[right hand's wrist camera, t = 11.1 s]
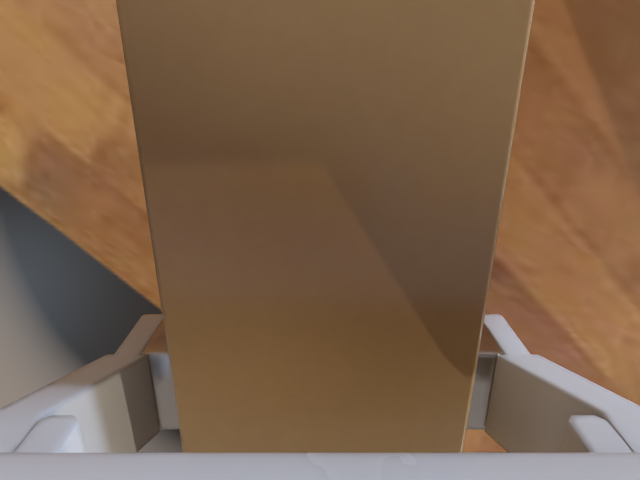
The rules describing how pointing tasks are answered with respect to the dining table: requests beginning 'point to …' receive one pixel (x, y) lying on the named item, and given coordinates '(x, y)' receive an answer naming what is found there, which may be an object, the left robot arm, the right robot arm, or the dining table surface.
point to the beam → (324, 211)
